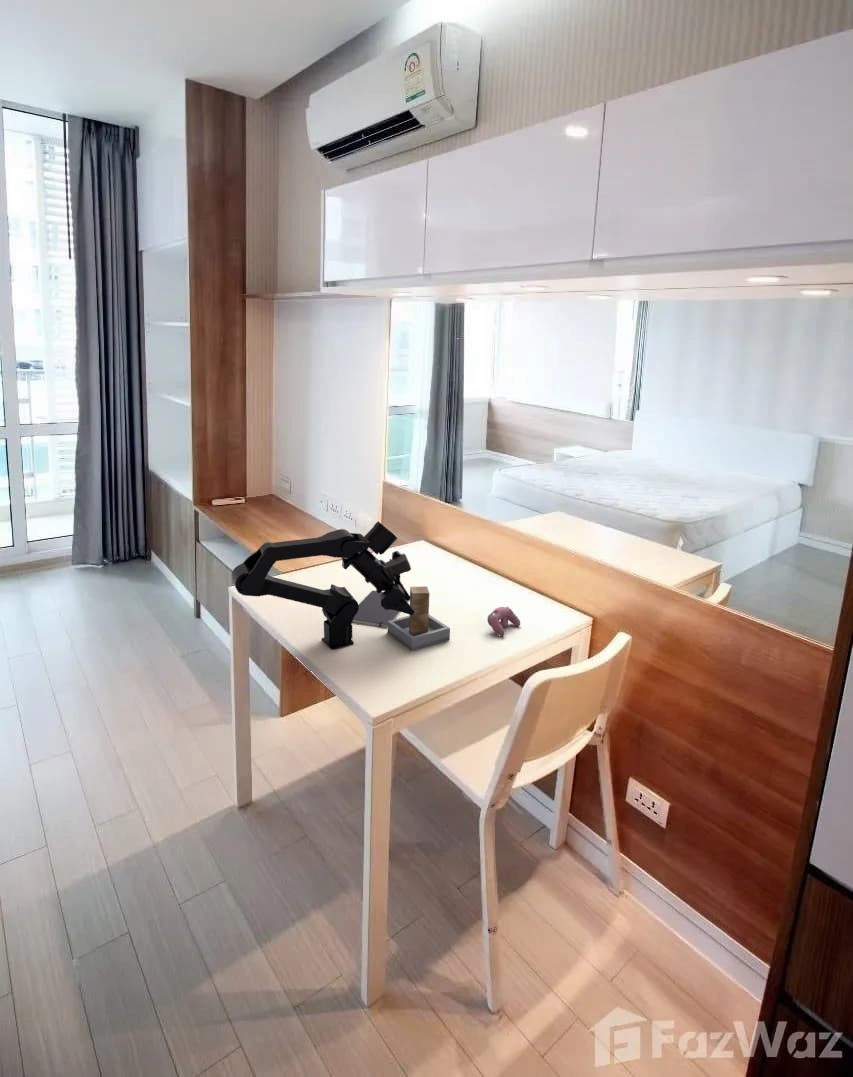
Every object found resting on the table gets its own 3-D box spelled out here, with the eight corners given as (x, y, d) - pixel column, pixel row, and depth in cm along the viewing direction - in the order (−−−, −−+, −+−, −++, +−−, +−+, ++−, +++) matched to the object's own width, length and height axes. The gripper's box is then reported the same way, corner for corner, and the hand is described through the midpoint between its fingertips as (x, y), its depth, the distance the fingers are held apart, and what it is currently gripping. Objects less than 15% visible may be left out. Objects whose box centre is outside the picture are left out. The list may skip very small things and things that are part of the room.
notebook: (372, 594, 202) (345, 622, 182) (372, 590, 201) (345, 617, 182) (411, 600, 198) (388, 629, 179) (411, 595, 198) (388, 624, 178)
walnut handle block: (410, 637, 172) (412, 593, 168) (409, 629, 176) (410, 586, 172) (427, 636, 172) (429, 593, 168) (425, 629, 176) (427, 586, 173)
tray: (411, 651, 166) (412, 638, 165) (387, 633, 176) (387, 621, 175) (449, 639, 173) (450, 627, 172) (424, 623, 182) (424, 611, 181)
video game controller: (509, 627, 185) (501, 604, 185) (522, 624, 182) (514, 601, 182) (490, 639, 178) (482, 614, 178) (503, 636, 175) (495, 612, 175)
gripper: (395, 558, 156) (438, 600, 161) (390, 534, 174) (429, 573, 179) (362, 589, 158) (406, 629, 163) (360, 562, 175) (399, 599, 180)
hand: (411, 606), depth 171 cm, fingers open, 9 cm apart
